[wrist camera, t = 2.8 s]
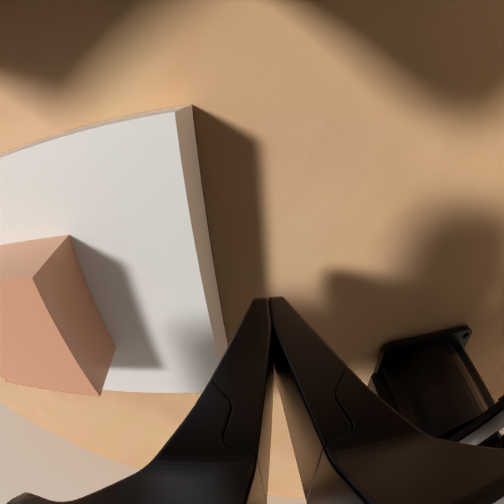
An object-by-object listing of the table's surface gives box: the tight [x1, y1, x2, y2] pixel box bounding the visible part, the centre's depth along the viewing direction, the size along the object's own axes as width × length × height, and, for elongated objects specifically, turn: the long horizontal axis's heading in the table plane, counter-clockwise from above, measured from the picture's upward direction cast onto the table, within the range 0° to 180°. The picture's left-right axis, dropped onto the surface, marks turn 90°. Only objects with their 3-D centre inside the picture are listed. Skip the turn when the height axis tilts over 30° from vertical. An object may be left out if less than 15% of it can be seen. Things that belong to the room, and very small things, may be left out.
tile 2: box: [0, 235, 116, 397], centre depth 9 cm, size 5×5×2 cm
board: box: [0, 105, 227, 393], centre depth 11 cm, size 16×11×3 cm
